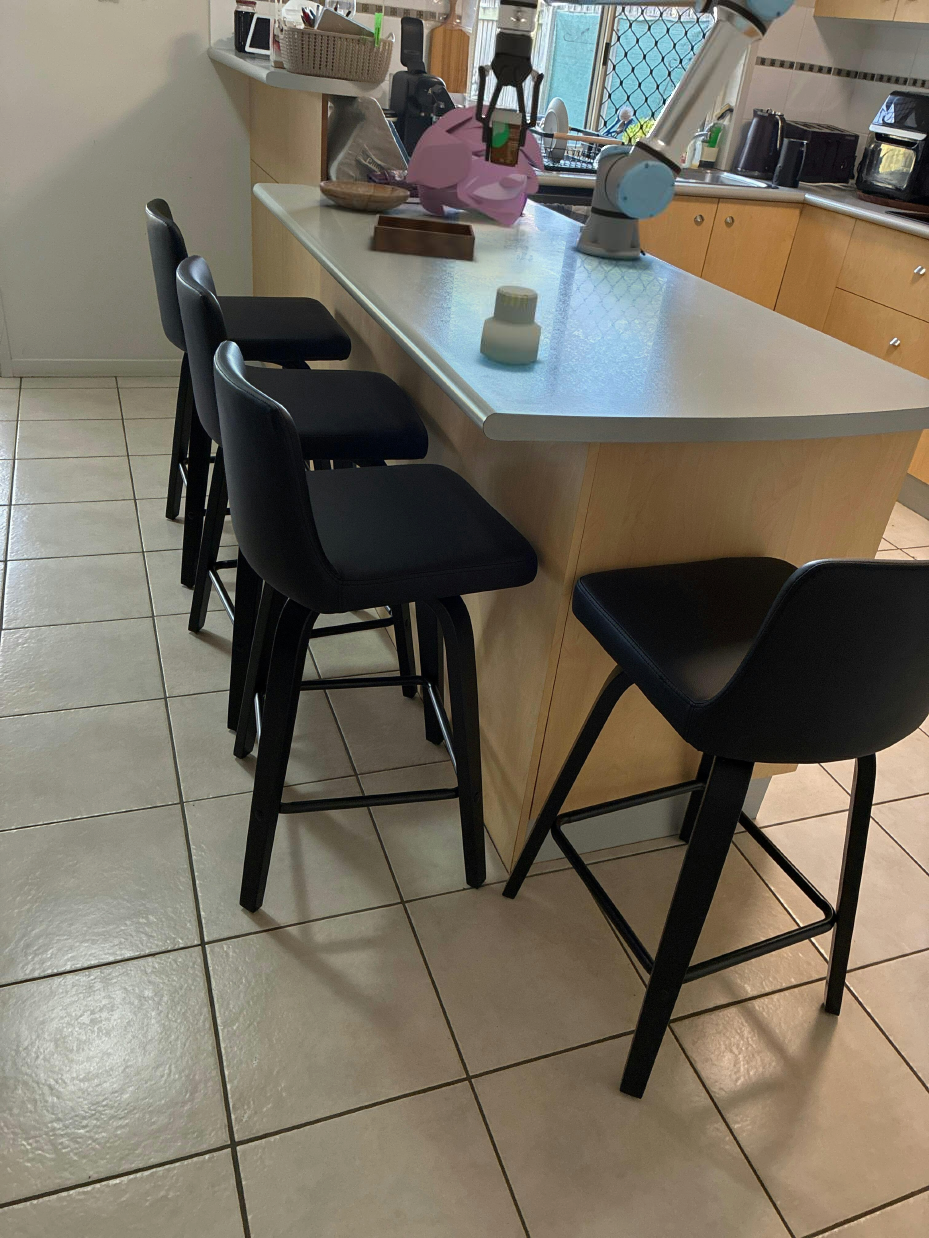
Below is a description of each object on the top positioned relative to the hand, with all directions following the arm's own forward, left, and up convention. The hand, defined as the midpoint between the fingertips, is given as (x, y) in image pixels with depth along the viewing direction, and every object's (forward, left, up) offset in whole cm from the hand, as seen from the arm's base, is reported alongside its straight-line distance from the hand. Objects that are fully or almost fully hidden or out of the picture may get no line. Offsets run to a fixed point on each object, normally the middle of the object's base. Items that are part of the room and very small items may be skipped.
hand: (500, 162), depth 193 cm
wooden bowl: (+30, -45, -19) cm, 57 cm away
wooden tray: (+15, +3, -19) cm, 24 cm away
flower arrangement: (+1, -49, -19) cm, 52 cm away
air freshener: (+3, +81, -19) cm, 83 cm away
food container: (0, 0, -1) cm, 1 cm away
